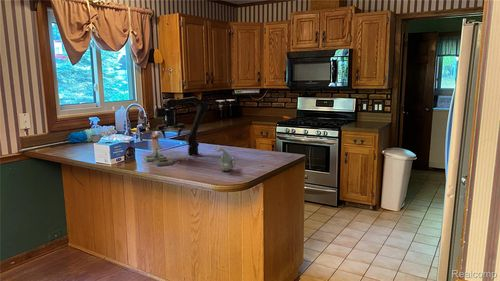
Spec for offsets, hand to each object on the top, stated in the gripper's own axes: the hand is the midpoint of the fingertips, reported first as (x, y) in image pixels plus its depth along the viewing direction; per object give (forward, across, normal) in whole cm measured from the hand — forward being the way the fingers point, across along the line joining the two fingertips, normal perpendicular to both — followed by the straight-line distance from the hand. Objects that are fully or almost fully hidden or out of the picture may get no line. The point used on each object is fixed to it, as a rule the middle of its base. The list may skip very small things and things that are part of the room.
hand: (171, 139), depth 257 cm
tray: (+13, +12, +1) cm, 18 cm away
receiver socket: (+13, +10, +18) cm, 24 cm away
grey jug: (+13, -20, +53) cm, 58 cm away
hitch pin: (+12, +11, +1) cm, 17 cm away
